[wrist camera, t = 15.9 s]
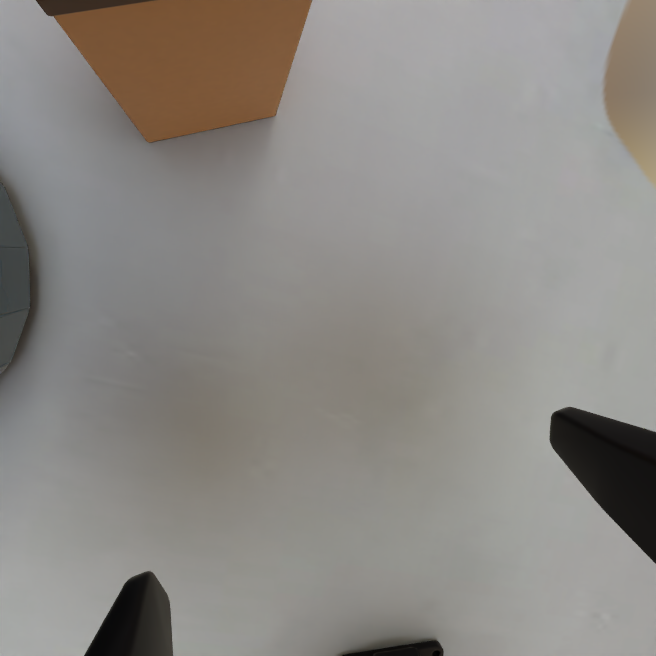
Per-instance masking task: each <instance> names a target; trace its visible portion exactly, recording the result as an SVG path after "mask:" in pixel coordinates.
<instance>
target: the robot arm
mask: <svg viewBox="0 0 656 656" xmlns="http://www.w3.org/2000/svg"><path fill="white" fill-rule="evenodd" d="M550 443H551V445H552V447H553V449H554V450H555V452H556V453H557V454H558V455H559V456H560V458H561V459H562V460H563V461H564V463H565V464H566V465H567V466H568V468H569V469H570V470H571V471H572V472H573V474H574V475H575V476H576V477H577V479H578V480H579V481H580V482H581V484H582V485H583V486H584V487H585V488H586V490H587V491H588V492H589V493H590V495H591V496H592V497H593V498H594V499H595V501H596V502H597V503H598V504H599V505H600V506H601V508H602V509H603V510H604V511H605V512H606V513H607V514H608V515H609V516H610V517H611V518H612V519H613V520H614V521H615V522H616V523H617V524H618V525H619V526H620V527H621V529H622V530H623V531H624V532H625V533H626V534H627V535H628V536H629V537H630V538H631V539H632V540H633V541H634V542H635V543H636V544H637V545H638V546H639V547H640V548H641V549H642V550H643V551H644V552H645V553H646V554H647V555H648V556H649V557H650V558H651V559H652V560H653V562H654V563H655V564H656V432H653V431H650V430H647V429H643V428H640V427H637V426H633V425H630V424H627V423H623V422H620V421H617V420H613V419H610V418H607V417H603V416H600V415H597V414H593V413H590V412H587V411H583V410H580V409H577V408H573V407H566V408H563V409H561V410H558V411H556V412H554V413H553V414H552V416H551V426H550ZM84 656H173V646H172V628H171V611H170V602H169V598H168V595H167V593H166V592H165V590H164V588H163V587H162V585H161V584H160V582H159V581H158V579H157V578H156V576H155V575H154V574H153V572H151V571H147V572H144V573H141V574H139V575H136V576H134V577H132V578H130V579H129V580H128V581H127V582H126V583H125V584H124V586H123V588H122V590H121V591H120V593H119V595H118V597H117V598H116V600H115V602H114V604H113V606H112V607H111V609H110V611H109V613H108V614H107V616H106V618H105V620H104V621H103V623H102V625H101V627H100V629H99V630H98V632H97V634H96V636H95V637H94V639H93V641H92V643H91V644H90V646H89V648H88V650H87V652H86V653H85V655H84ZM343 656H443V648H442V647H441V645H440V643H439V642H438V641H427V642H421V643H415V644H409V645H402V646H396V647H390V648H384V649H377V650H371V651H365V652H359V653H352V654H346V655H343Z"/></svg>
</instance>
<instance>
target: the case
mask: <svg viewBox="0 0 656 656" xmlns="http://www.w3.org/2000/svg"><path fill="white" fill-rule="evenodd" d="M36 1H37V2H38V4H39V5H40V6H41V8H42V9H43V10H44V12H45V13H46V14H47V15H48V16H54V18H55V19H56V20H57V22H58V23H59V24H60V26H61V27H62V29H63V30H64V31H65V33H66V34H67V35H68V37H69V38H70V39H71V41H72V42H73V43H74V45H75V46H76V47H77V49H78V50H79V51H80V53H81V54H82V55H83V57H84V58H85V59H86V61H87V62H88V63H89V65H90V66H91V67H92V69H93V70H94V71H95V73H96V74H97V75H98V77H99V78H100V79H101V81H102V82H103V83H104V85H105V86H106V87H107V89H108V90H109V91H110V93H111V94H112V95H113V97H114V98H115V99H116V101H117V102H118V104H119V105H120V106H121V108H122V109H123V110H124V112H125V113H126V114H127V116H128V117H129V118H130V120H131V121H132V122H133V124H134V125H135V126H136V128H137V129H138V130H139V132H140V133H141V134H142V136H143V137H144V138H145V140H146V141H147V142H154V141H159V140H164V139H168V138H173V137H178V136H183V135H187V134H192V133H197V132H201V131H206V130H211V129H216V128H220V127H225V126H230V125H234V124H239V123H244V122H249V121H253V120H258V119H263V118H268V117H272V116H275V115H276V112H277V109H278V106H279V103H280V100H281V97H282V93H283V90H284V87H285V84H286V81H287V78H288V75H289V71H290V68H291V65H292V62H293V59H294V56H295V53H296V49H297V46H298V43H299V40H300V37H301V34H302V31H303V28H304V24H305V21H306V18H307V15H308V12H309V9H310V6H311V2H312V0H36Z"/></svg>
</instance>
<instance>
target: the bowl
mask: <svg viewBox="0 0 656 656" xmlns="http://www.w3.org/2000/svg"><path fill="white" fill-rule="evenodd" d="M29 307H30V280H29V251H28V245H27V243H26V240H25V238H24V235H23V233H22V230H21V228H20V225H19V222H18V220H17V217H16V215H15V212H14V210H13V207H12V204H11V202H10V199H9V197H8V194H7V192H6V189H5V187H4V186H3V184H2V183H1V181H0V375H1V373H2V372H3V371H4V370H5V369H6V367H7V366H8V365H9V364H10V361H11V360H12V358H13V355H14V353H15V350H16V347H17V344H18V341H19V338H20V335H21V332H22V330H23V327H24V324H25V321H26V318H27V315H28V312H29Z"/></svg>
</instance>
